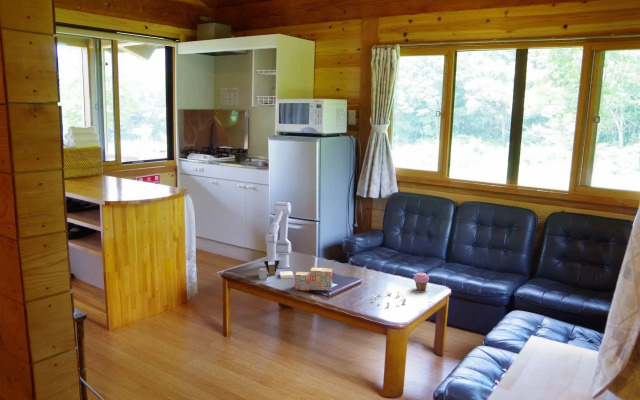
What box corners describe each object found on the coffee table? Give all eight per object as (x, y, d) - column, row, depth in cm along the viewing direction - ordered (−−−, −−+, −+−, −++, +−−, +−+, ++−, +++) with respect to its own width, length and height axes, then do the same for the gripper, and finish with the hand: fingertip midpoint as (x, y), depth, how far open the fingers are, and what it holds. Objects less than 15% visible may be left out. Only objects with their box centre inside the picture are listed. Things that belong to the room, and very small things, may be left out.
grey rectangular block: (258, 277, 332) (258, 268, 331) (264, 276, 334) (264, 267, 333) (260, 279, 329) (260, 270, 328) (266, 278, 330) (266, 269, 329)
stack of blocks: (294, 290, 309) (294, 269, 307) (296, 286, 315) (296, 266, 313) (331, 291, 306) (331, 271, 304) (332, 288, 312) (332, 268, 310)
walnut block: (268, 273, 340) (268, 264, 339) (274, 273, 340) (274, 264, 339) (268, 275, 336) (268, 266, 335) (275, 275, 336) (275, 266, 335)
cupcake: (416, 292, 306) (417, 275, 304) (410, 287, 314) (411, 271, 313) (431, 291, 308) (431, 274, 306) (424, 286, 316) (425, 270, 314)
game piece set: (413, 301, 292) (413, 294, 291) (391, 310, 278) (392, 304, 277) (385, 292, 305) (385, 286, 305) (363, 301, 291) (363, 295, 291)
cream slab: (279, 275, 338) (279, 271, 337) (292, 274, 339) (292, 271, 339) (280, 279, 330) (280, 275, 329) (293, 278, 331) (293, 274, 331)
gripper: (260, 253, 330) (260, 274, 333) (283, 253, 333) (283, 273, 335) (259, 251, 337) (260, 271, 340) (282, 250, 340) (282, 270, 342)
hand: (271, 272), depth 338 cm, fingers closed on walnut block, 4 cm apart
